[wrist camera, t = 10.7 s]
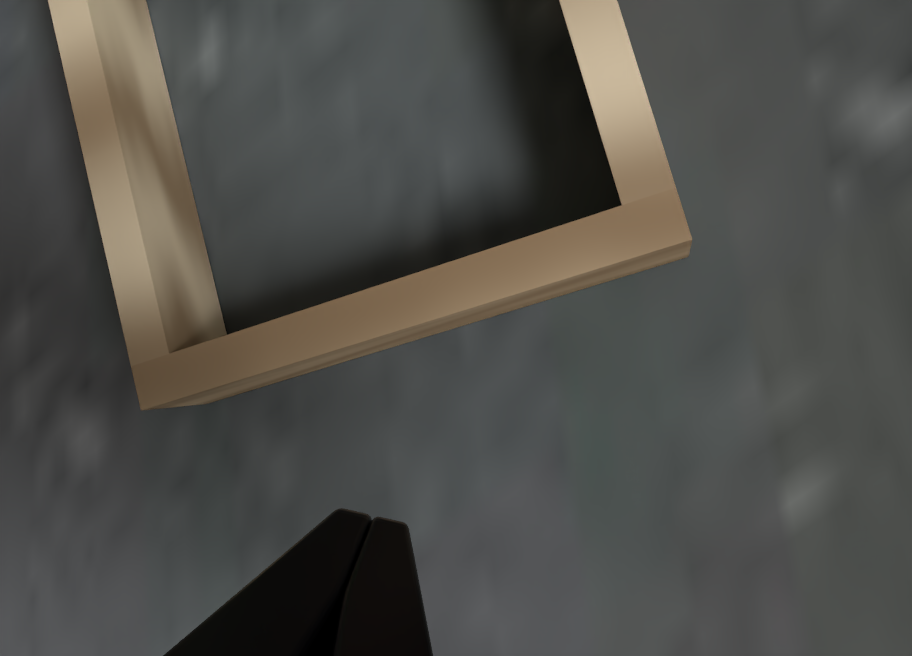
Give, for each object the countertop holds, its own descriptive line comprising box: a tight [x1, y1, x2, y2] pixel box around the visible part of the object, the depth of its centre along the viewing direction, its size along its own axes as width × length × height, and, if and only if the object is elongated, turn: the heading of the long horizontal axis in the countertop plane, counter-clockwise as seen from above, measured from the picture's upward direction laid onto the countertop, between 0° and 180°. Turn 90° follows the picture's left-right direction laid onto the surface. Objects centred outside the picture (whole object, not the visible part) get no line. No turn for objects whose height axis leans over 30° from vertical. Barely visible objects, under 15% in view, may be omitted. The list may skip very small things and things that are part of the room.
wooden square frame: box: [48, 0, 692, 410], centre depth 21 cm, size 14×14×3 cm
